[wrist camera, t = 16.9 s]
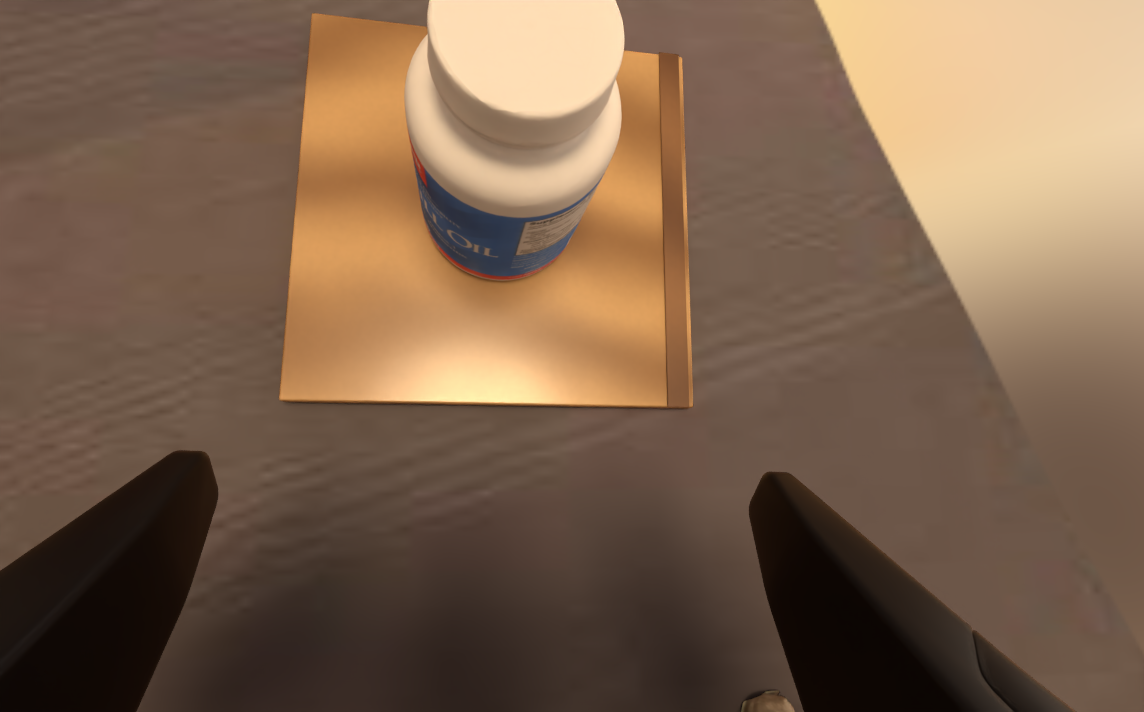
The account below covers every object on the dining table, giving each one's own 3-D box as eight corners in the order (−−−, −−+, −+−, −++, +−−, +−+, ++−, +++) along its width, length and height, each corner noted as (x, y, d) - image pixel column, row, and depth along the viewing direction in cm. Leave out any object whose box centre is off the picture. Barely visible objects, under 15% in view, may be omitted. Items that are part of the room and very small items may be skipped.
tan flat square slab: (688, 408, 22) (694, 407, 21) (284, 402, 19) (277, 400, 19) (677, 66, 24) (683, 55, 23) (315, 23, 22) (310, 10, 21)
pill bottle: (391, 191, 21) (325, -31, 11) (514, 117, 22) (549, -142, 12) (485, 316, 20) (499, 197, 11) (604, 233, 22) (708, 62, 12)
